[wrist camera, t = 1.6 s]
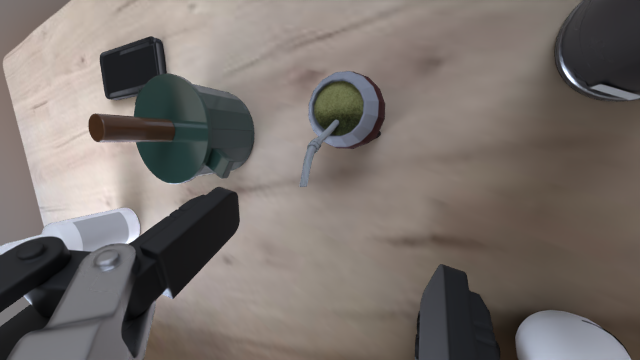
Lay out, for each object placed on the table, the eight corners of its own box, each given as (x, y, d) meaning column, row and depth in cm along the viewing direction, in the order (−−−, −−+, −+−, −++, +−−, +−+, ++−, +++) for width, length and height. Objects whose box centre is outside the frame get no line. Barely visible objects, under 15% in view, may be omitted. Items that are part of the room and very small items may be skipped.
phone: (161, 88, 40) (105, 99, 46) (168, 89, 41) (112, 100, 47) (154, 34, 39) (98, 53, 45) (161, 36, 40) (105, 55, 46)
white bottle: (134, 247, 51) (-8, 298, 34) (115, 223, 52) (-29, 260, 36) (145, 224, 48) (-2, 267, 32) (125, 199, 50) (-25, 228, 33)
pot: (197, 68, 38) (142, 51, 31) (281, 129, 34) (240, 125, 26) (175, 135, 42) (120, 134, 34) (247, 196, 37) (203, 210, 30)
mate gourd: (362, 70, 28) (296, 6, 15) (412, 121, 27) (390, 101, 13) (318, 120, 31) (229, 104, 18) (361, 168, 30) (301, 190, 16)
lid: (159, 56, 30) (70, 29, 23) (232, 110, 27) (156, 99, 20) (133, 146, 35) (52, 148, 27) (194, 202, 31) (120, 222, 24)
